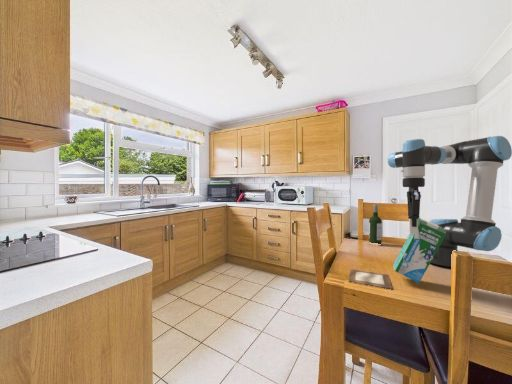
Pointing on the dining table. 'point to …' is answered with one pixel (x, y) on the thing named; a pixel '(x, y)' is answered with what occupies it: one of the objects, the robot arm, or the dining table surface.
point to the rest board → (370, 279)
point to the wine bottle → (375, 227)
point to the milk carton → (419, 250)
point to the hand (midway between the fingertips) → (413, 234)
